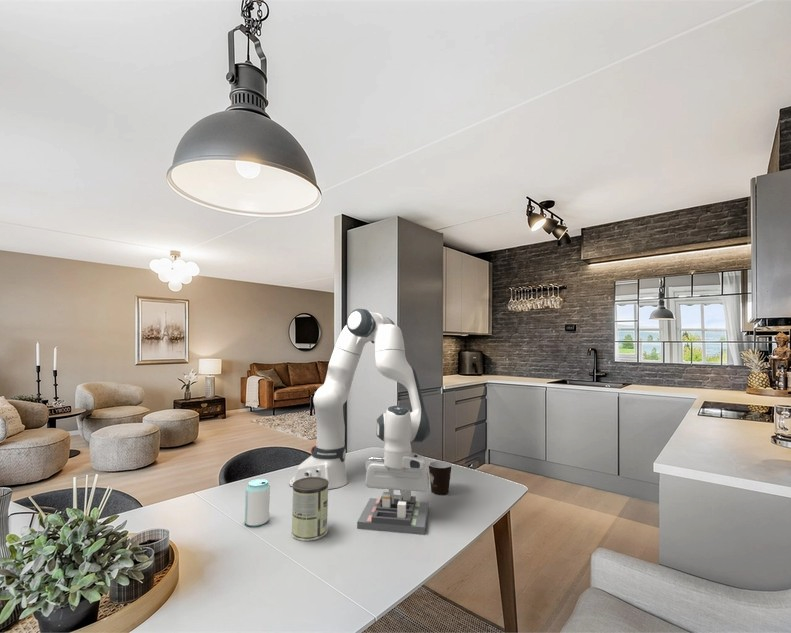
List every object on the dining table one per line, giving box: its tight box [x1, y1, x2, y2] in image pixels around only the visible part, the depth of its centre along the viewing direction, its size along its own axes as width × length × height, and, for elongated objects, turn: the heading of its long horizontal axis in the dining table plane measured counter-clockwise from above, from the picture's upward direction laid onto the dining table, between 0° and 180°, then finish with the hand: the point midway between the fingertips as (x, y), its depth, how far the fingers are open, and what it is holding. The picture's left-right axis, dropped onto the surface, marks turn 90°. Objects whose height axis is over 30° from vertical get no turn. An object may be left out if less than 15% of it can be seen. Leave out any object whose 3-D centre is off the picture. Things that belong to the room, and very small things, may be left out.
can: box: [244, 478, 271, 527], centre depth 119 cm, size 7×7×12 cm
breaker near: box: [397, 501, 406, 519], centre depth 117 cm, size 2×2×5 cm
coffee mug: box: [428, 460, 452, 496], centre depth 147 cm, size 12×9×10 cm
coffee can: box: [291, 477, 329, 542], centre depth 114 cm, size 10×10×14 cm
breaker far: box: [403, 491, 412, 501], centre depth 129 cm, size 2×2×5 cm
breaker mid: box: [381, 491, 391, 508], centre depth 124 cm, size 2×2×5 cm
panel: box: [356, 493, 429, 535], centre depth 123 cm, size 20×18×4 cm
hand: (396, 503), depth 123 cm, fingers closed
